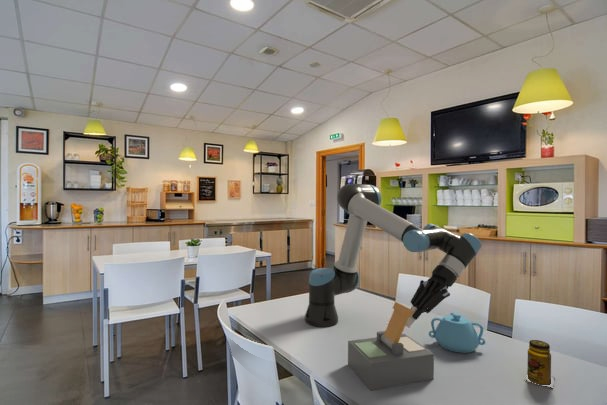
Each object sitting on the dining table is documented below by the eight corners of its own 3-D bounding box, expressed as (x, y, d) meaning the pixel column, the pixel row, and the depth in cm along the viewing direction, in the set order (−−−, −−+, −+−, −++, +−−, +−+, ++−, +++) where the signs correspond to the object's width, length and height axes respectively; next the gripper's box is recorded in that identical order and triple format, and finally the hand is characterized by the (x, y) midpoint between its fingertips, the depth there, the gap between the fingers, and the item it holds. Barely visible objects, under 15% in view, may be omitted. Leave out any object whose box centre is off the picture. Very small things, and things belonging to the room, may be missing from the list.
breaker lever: (385, 342, 113) (401, 304, 115) (397, 352, 106) (413, 311, 108) (379, 340, 112) (394, 301, 114) (390, 349, 106) (407, 308, 107)
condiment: (524, 381, 105) (524, 343, 105) (527, 370, 111) (528, 334, 111) (553, 390, 100) (553, 350, 100) (555, 378, 106) (555, 341, 106)
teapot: (428, 351, 124) (429, 317, 124) (428, 331, 143) (428, 301, 143) (488, 360, 118) (489, 324, 117) (480, 338, 136) (480, 307, 136)
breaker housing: (403, 355, 121) (404, 325, 120) (433, 379, 105) (434, 344, 105) (347, 364, 114) (348, 332, 114) (370, 390, 99) (371, 353, 99)
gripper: (468, 283, 110) (424, 339, 105) (440, 274, 123) (400, 324, 118) (455, 268, 109) (410, 324, 104) (428, 260, 121) (387, 310, 116)
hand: (405, 324), depth 111 cm, fingers closed
